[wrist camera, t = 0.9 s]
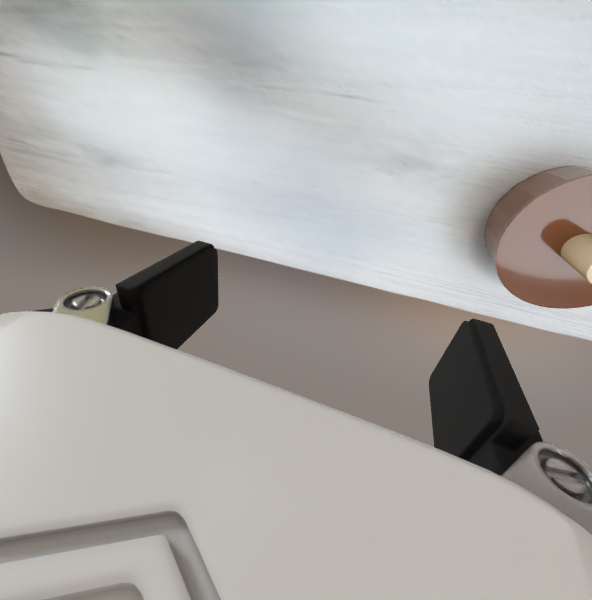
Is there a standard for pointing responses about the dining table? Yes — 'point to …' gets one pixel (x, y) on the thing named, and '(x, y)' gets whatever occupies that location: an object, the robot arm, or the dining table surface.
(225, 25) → the dining table surface
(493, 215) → the pot
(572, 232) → the lid
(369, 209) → the dining table surface
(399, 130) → the dining table surface
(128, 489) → the robot arm
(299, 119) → the dining table surface
